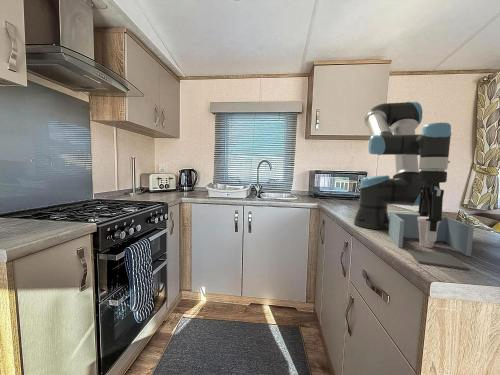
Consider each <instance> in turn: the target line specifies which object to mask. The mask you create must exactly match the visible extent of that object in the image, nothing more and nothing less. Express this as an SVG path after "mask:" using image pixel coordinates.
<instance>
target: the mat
mask: <svg viewBox="0 0 500 375" xmlns="http://www.w3.org/2000/svg"><path fill="white" fill-rule="evenodd" d="M407 252H408V253H409V254H410V255H411V256H412V257H413V259H415V261H416V263H417V264H421V263H422V264H423V265H428V266H430V265H431V266H436V267H437V266H438V267H442V268H443V267H445V268H450V269H458V270H466V271H469V267H468V266H467V265H466V264H464V263H463V262H462V261H460V260H459V259H457V257H455V256H454V255H452V254H451V253H445V252H437V251H429V250H422V249H421V250H420V249H413V248H407Z"/></svg>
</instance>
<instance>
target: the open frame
mask: <svg viewBox="0 0 500 375" xmlns="http://www.w3.org/2000/svg"><path fill="white" fill-rule="evenodd" d="M417 217H420V214H414V213H402V212H401V213H400V212H399V213H398V212H390V213H389V219H390V220H389V229H388V236H389V237H390V239H391V240H392V241H393V243H394V244H395V245H396V247H397V248H401V249H402V248H403V244H404V238H410V239H419V225H418V220H417ZM440 222H441V223H439V226H438V230H437V238H436V241H435V242H437V241H439V242H445V243H447V244H448V245H449V246H451V247H452V248H454V249H456V250H457V251H459V253H461V254H463V255H465V256H466V257H467V256H468V257H471V256H472V249H473V241H474V240H473V238H474V229H475V227H474V226H472V225H470V224H468V223H465V222H462V221H460V220H457V219H454V218H452V217H451V216H450V217H449V216H442V220H441V221H440Z"/></svg>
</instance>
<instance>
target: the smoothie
mask: <svg viewBox="0 0 500 375" xmlns="http://www.w3.org/2000/svg"><path fill="white" fill-rule="evenodd" d="M426 219H429V216H428V217H423V216H420V217H417V220H418V225H419V240H418V241H419V245H420V246H421V247H423V248H430V249H431V248H434V245H435V242H436V241H428V240H426V228H427V221H426ZM439 223H441V222H440V221H439V222H438V226H439ZM437 230H438V227H437Z"/></svg>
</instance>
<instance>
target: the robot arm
mask: <svg viewBox="0 0 500 375" xmlns="http://www.w3.org/2000/svg"><path fill="white" fill-rule="evenodd" d="M423 112H424V111H423V107H422V104H420V103H419V102H418V101H405V102H404V101H403V102H389V103H385V102H384V103H381V104H378V105H375V106H374V107H372V108H371V109H369V111H367V113H366V115H365V117H364V125H365V126H366V127H367V128H368V129H369V132H370V137H369V140H368V153H369V154H370V155H378V156H383V155H385V156H386V155H387V156H390V155H393V156H395V157H394V158H395V174H393V175H392V178H391V177H390V175H375V176H374V175H373V176H365V177H362V178H361V180H360V185H359V202H358V209H357V212H356V214H355V216H354V219H353V224H354V226H357V227H361V228H364V229H371V230H389V220H390V214H389V213H388V206H389V205H395V206H396V205H397V206H410V207H418V215H420V216H423V217H428V216H429V219H426V221H427V228H426V240H428V241H435V242H437V241H436V238H437V227H438V222H439V221H441V220H442V217H443V216H442V215H443V202H444V200H443V199H444V193H445V190H444V189H441V186H440V185H441V184H442V183H443V184H444V183H447V180H448V172H447V171H445V170H448V166H449V164H450V163H451V161H450V160H449V156H450V146H451V136H452V125H451V124H450V123H449V122H433V123H432V122H431V123H427V124H424V125H423V126H422V130H421V134H419V133H418V134H416V129H417V128H418V127H419V126H420V125H421V123H422V120H423ZM418 156H420V157H419V161H418ZM440 183H441V184H440Z"/></svg>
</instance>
